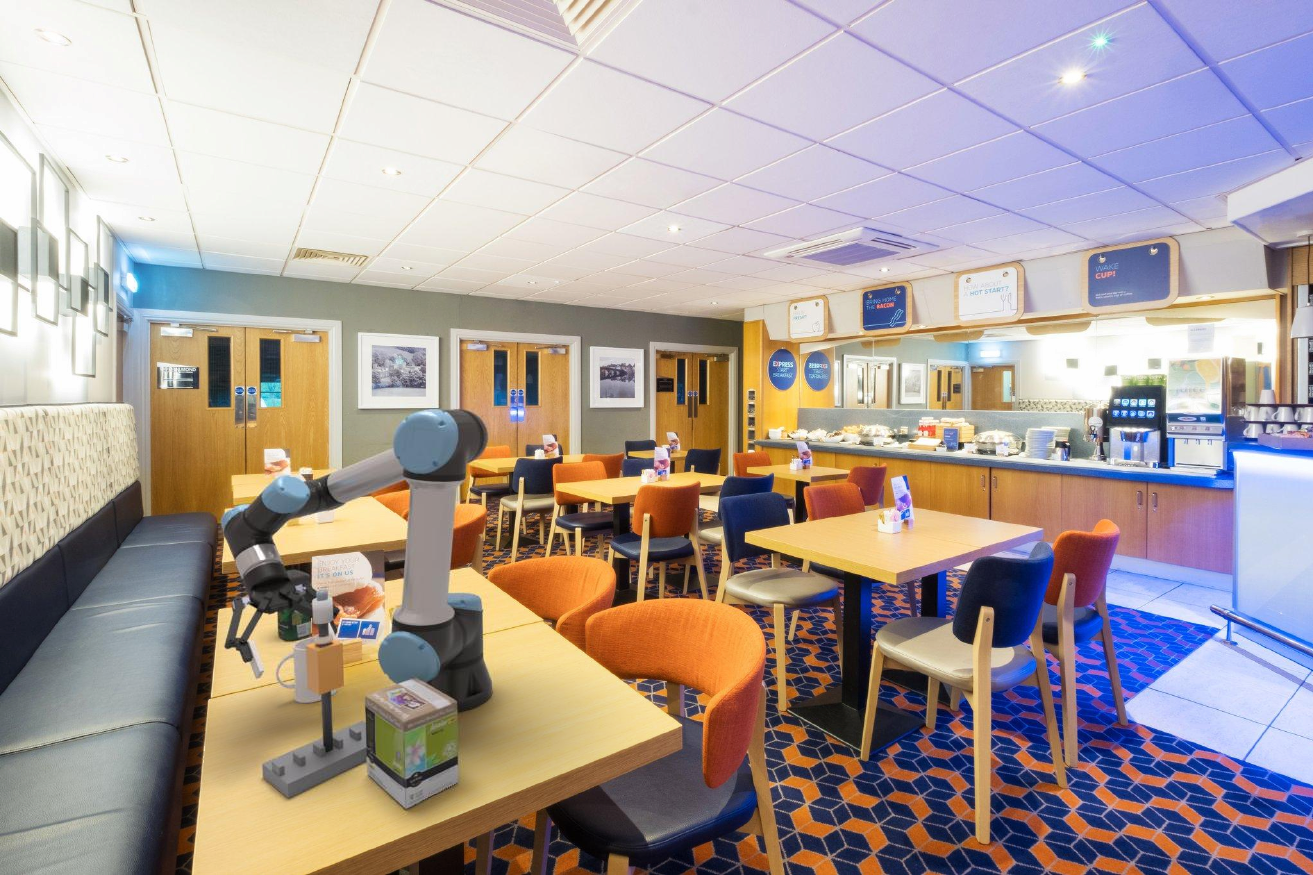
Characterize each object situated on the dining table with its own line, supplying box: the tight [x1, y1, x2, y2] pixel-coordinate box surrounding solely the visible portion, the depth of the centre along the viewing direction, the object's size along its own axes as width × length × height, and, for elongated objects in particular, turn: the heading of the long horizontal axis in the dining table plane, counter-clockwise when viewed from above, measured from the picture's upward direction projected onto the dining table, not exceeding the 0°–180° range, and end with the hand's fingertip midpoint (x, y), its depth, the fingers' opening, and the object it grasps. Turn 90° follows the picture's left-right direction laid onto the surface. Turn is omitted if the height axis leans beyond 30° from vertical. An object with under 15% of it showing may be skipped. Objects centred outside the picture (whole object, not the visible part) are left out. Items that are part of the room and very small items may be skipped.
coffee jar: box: [276, 569, 312, 641], centre depth 174 cm, size 10×8×19 cm
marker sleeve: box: [306, 639, 345, 695], centre depth 111 cm, size 4×4×8 cm
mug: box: [275, 636, 338, 704], centre depth 138 cm, size 12×8×12 cm
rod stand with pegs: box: [261, 589, 367, 799], centre depth 111 cm, size 18×10×32 cm, turn 144°
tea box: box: [364, 678, 459, 810], centre depth 107 cm, size 15×10×15 cm, turn 48°
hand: (299, 661), depth 117 cm, fingers open, 13 cm apart
